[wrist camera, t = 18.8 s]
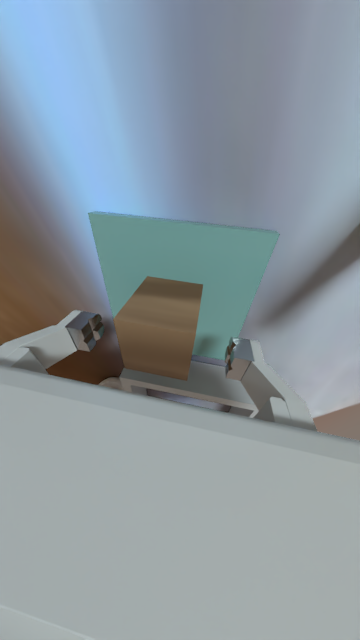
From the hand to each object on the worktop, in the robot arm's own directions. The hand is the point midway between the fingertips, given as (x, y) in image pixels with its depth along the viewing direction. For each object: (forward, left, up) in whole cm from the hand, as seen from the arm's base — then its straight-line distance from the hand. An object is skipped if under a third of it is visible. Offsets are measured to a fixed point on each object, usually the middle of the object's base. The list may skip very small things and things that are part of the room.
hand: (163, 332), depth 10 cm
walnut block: (0, 0, -3) cm, 3 cm away
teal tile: (0, 0, -4) cm, 4 cm away
